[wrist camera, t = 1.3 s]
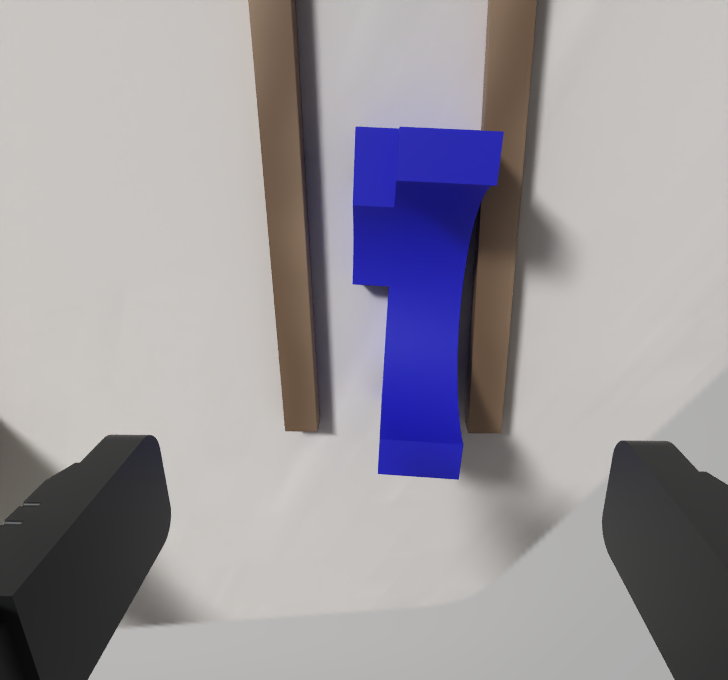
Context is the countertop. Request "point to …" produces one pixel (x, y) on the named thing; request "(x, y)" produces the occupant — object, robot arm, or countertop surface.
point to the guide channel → (290, 213)
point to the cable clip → (419, 278)
